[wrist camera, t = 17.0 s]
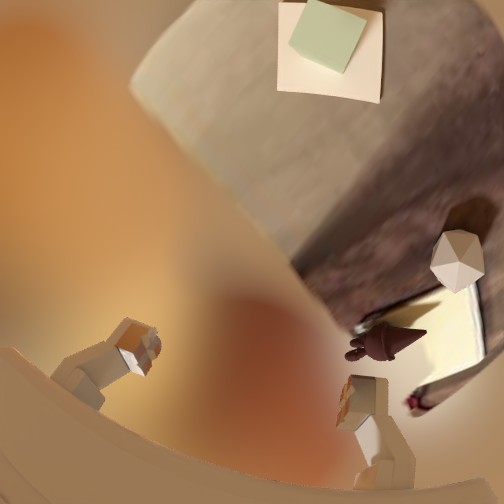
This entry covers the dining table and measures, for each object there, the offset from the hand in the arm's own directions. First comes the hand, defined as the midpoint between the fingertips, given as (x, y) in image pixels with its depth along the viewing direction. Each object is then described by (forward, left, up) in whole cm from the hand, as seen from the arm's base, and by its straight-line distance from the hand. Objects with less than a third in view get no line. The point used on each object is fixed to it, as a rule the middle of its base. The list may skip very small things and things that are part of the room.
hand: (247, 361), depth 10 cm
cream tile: (-1, -15, -29) cm, 33 cm away
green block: (-1, -15, -28) cm, 32 cm away
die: (-22, +8, -29) cm, 38 cm away
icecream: (-17, +27, -29) cm, 43 cm away
